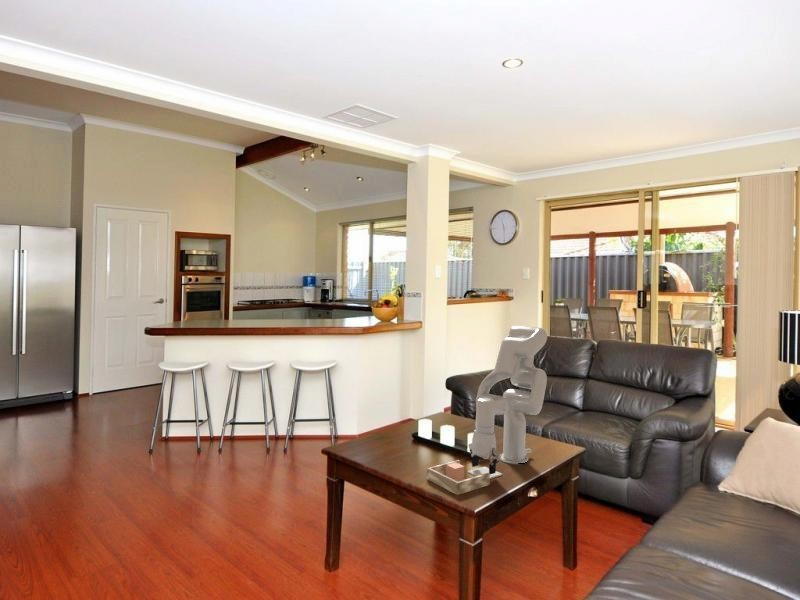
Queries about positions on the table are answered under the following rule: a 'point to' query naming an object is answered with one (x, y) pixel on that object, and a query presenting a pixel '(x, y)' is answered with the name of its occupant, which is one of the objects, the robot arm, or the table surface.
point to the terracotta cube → (455, 471)
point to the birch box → (439, 478)
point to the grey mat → (483, 472)
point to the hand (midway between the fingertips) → (483, 469)
